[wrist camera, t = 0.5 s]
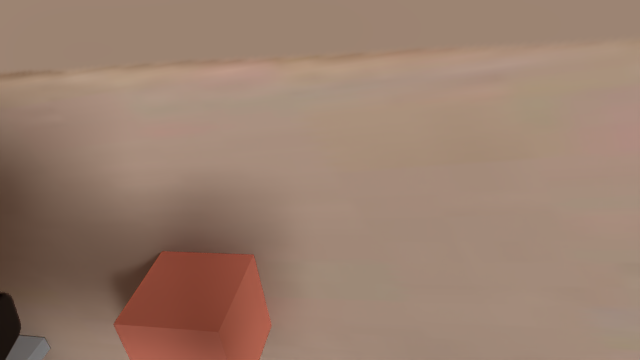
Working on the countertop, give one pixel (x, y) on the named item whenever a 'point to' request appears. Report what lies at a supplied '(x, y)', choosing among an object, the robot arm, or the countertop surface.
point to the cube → (196, 309)
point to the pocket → (29, 348)
